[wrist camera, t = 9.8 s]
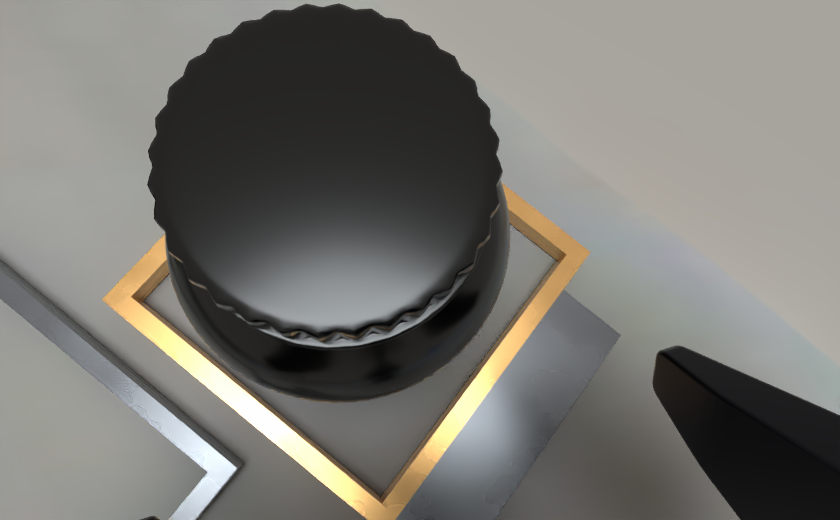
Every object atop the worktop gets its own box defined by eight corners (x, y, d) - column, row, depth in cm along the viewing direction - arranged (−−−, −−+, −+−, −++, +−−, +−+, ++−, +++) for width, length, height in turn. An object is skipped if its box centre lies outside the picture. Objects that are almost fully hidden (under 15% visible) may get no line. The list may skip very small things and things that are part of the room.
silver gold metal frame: (634, 301, 20) (648, 297, 19) (162, 987, 15) (148, 1030, 14) (241, -7, 21) (235, -26, 20) (-337, 542, 16) (-383, 553, 15)
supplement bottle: (287, 167, 20) (178, -132, 8) (472, 222, 20) (627, 11, 8) (220, 358, 18) (-34, 331, 7) (421, 414, 19) (522, 486, 7)
